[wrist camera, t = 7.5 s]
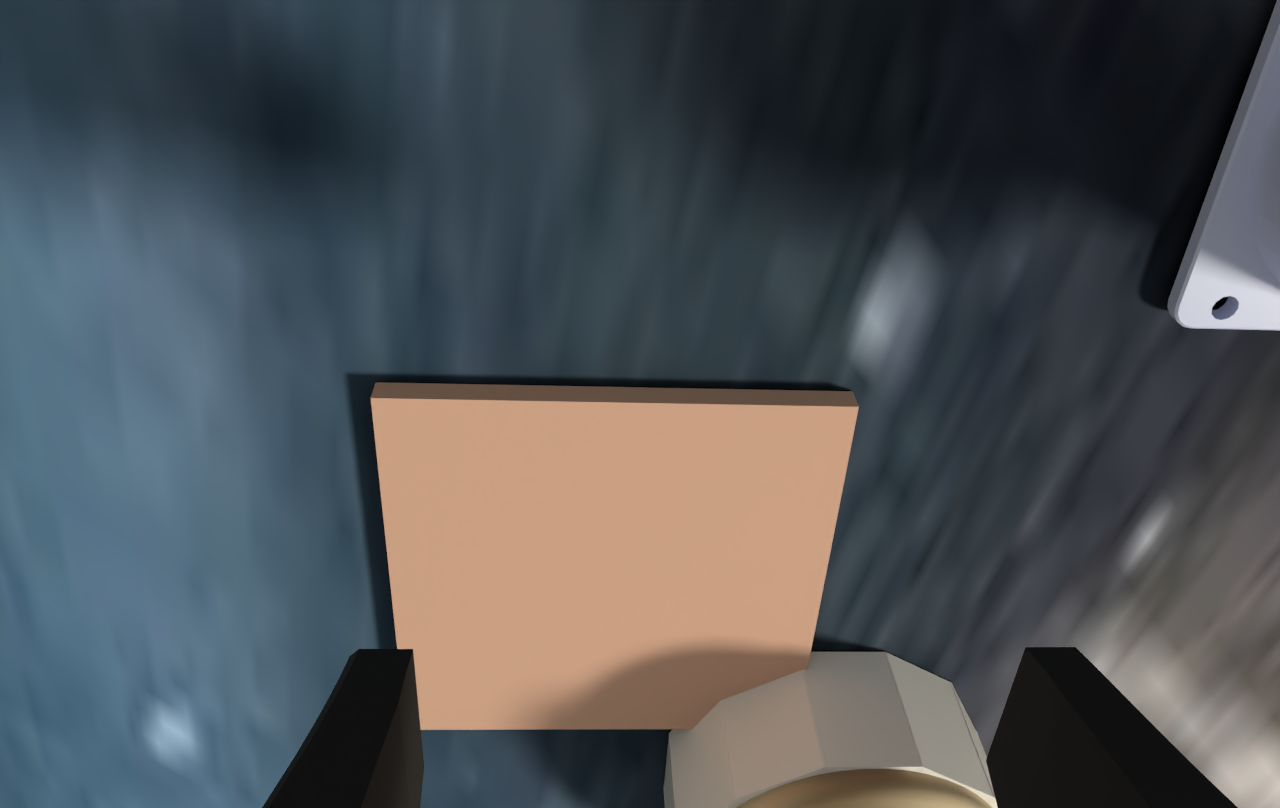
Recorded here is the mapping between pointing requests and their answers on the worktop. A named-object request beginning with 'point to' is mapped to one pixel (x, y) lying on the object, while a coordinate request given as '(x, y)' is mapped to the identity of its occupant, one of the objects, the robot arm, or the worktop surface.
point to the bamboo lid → (869, 792)
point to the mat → (604, 546)
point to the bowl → (826, 732)
